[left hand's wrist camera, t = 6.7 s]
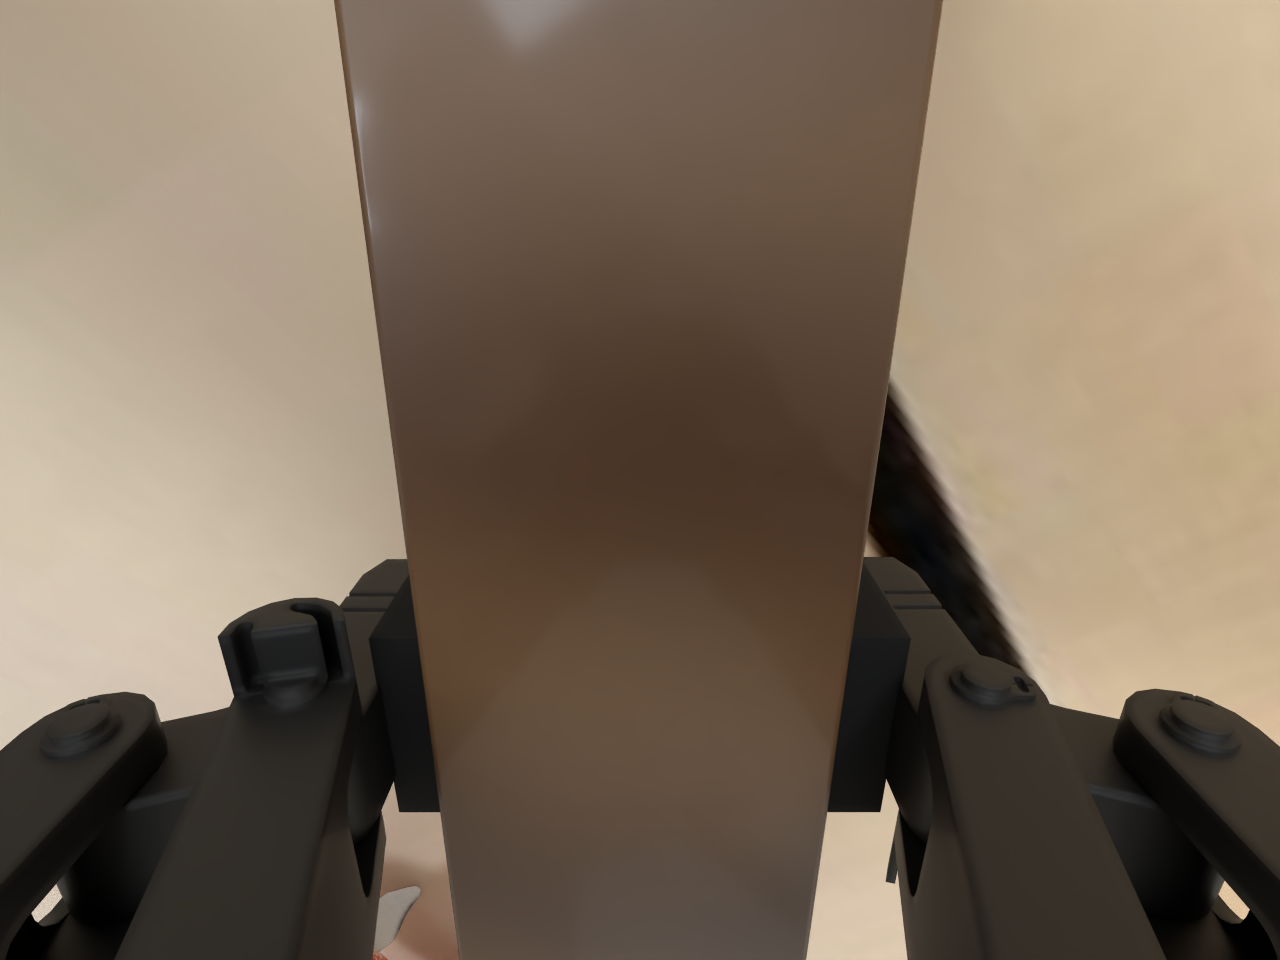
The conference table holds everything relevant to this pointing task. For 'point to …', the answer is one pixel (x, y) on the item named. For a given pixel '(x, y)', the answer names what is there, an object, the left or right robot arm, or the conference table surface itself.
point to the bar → (636, 435)
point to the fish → (392, 916)
